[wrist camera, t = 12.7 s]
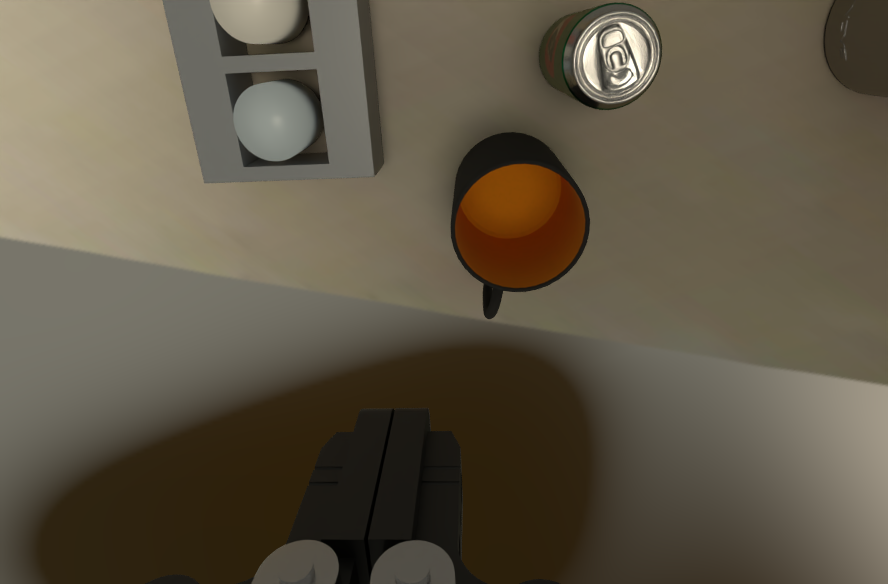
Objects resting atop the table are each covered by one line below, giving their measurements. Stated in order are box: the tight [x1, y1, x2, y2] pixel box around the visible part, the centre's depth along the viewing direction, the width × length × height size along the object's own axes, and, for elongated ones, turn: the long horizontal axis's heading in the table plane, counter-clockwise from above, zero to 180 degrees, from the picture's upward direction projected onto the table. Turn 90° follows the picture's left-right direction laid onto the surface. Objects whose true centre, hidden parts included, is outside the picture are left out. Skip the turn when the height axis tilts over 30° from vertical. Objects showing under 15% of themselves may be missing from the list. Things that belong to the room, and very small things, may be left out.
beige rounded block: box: [209, 0, 309, 44], centre depth 34 cm, size 5×5×4 cm
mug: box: [451, 132, 590, 319], centre depth 38 cm, size 8×12×10 cm
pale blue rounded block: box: [233, 79, 324, 161], centre depth 37 cm, size 5×5×4 cm
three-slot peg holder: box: [163, 0, 384, 183], centre depth 35 cm, size 12×22×4 cm, turn 3°
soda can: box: [539, 3, 662, 110], centre depth 33 cm, size 5×5×12 cm
